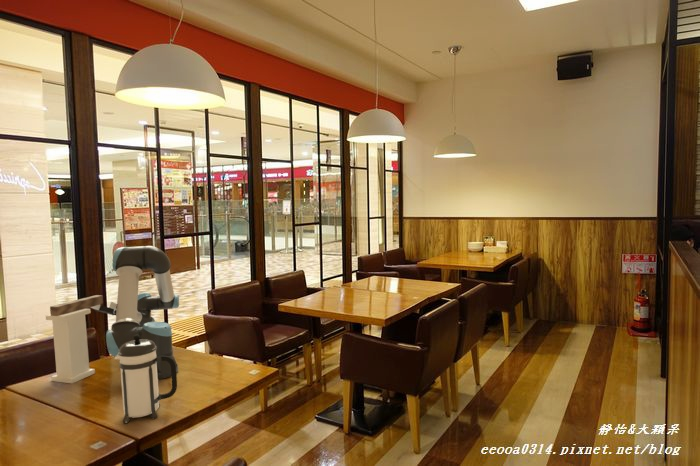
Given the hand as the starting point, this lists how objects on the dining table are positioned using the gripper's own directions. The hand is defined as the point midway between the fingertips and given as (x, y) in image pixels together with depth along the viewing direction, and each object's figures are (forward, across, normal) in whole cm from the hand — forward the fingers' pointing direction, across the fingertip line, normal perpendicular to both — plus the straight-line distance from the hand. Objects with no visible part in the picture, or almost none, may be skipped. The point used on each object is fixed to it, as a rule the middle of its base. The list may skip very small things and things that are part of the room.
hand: (99, 304), depth 222 cm
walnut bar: (+10, 0, +6) cm, 12 cm away
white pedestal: (0, 0, +34) cm, 34 cm away
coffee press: (+18, +60, +45) cm, 77 cm away
